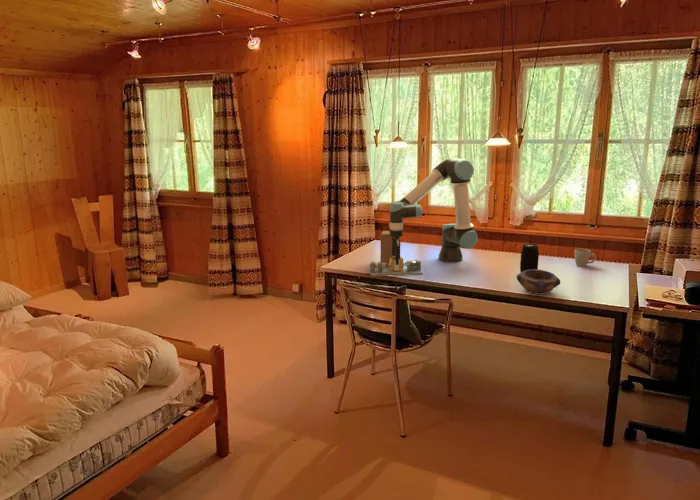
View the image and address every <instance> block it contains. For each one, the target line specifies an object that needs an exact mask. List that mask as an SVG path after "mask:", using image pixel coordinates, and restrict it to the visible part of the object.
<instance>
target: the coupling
mask: <svg viewBox="0 0 700 500" xmlns="http://www.w3.org/2000/svg"><path fill="white" fill-rule="evenodd" d="M394 258H395V257H390V263H388V266H387V267H388V268H390V272H401V271H403V269H404V267H405V262H404V258H403V256H400V259H399V270H394Z"/></svg>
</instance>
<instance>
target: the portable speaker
mask: <svg viewBox="0 0 700 500" xmlns="http://www.w3.org/2000/svg"><path fill="white" fill-rule="evenodd" d="M539 254H540V253H539V245H538V244H537V243H535V242H534V243H533V242H530V243H523V245H522V249H521V253H520V264H519V270H520V272H519V273H521V272H523V271H525V270H532V269H538V268H539V256H540V255H539Z"/></svg>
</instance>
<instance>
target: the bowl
mask: <svg viewBox="0 0 700 500" xmlns="http://www.w3.org/2000/svg"><path fill="white" fill-rule="evenodd" d="M516 280H517V282H518V283H519V284H520V285H521V286H522V288H523V289H524V290H525V291H526V292H528V293H529V292H531V293H530V294H532V293H537V294H536V295H541V293H544V294H548V293H549V292H551V291H552V290H554V289H555V288H557V287H558V286H559V285H560V284H561V280H560V278H559V277H557V276H556V275H555V274H554V273H552V272H550V271H547V270H543V269H532V270H525V271H523V272H519V273H518V274H517V275H516Z"/></svg>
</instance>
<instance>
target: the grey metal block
mask: <svg viewBox="0 0 700 500" xmlns="http://www.w3.org/2000/svg"><path fill="white" fill-rule="evenodd" d="M404 264H405V265H404V267H406V269H407V270H408V271H410V272H411V271H414V269H415V270H417V271H420V270H421V271H422V262H421V261H420V260H418V259H415V260H413V261H412V260H407V261H406V262H404Z"/></svg>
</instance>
